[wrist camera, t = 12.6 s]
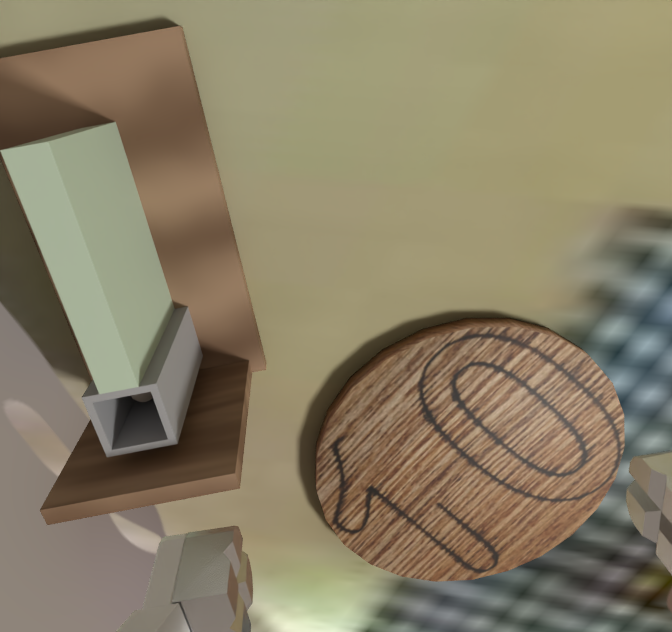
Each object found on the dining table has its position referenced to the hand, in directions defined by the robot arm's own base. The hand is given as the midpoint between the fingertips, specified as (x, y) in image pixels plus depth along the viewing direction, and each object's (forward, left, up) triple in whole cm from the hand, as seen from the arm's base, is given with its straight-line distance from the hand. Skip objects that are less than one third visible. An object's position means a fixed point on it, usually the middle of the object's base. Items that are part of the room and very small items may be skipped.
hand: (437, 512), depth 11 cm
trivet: (+22, +7, -28) cm, 36 cm away
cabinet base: (-1, -13, -27) cm, 30 cm away
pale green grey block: (0, -13, -26) cm, 29 cm away
